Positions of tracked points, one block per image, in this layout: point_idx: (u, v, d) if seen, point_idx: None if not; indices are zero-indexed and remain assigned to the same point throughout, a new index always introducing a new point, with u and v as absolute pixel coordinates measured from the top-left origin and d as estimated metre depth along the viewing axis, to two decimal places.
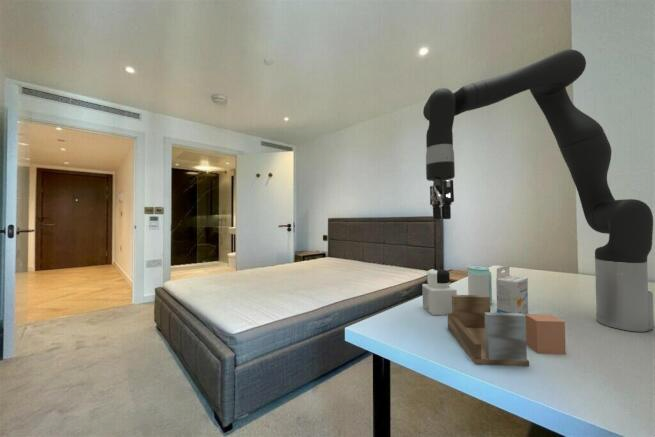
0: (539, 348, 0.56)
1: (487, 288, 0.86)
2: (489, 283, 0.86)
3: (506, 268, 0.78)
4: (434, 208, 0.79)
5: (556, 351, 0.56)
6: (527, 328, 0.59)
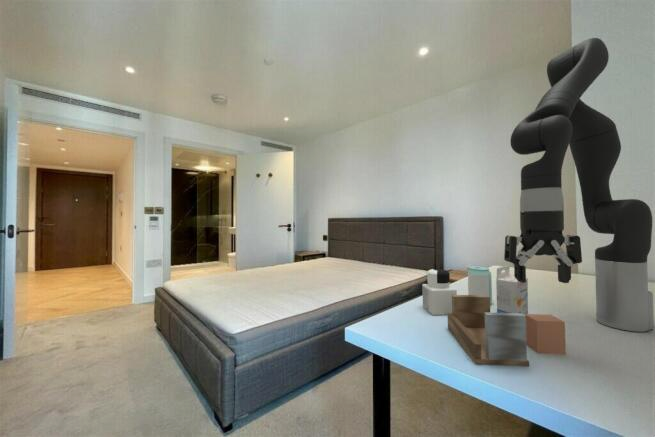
0: (539, 348, 0.56)
1: (487, 288, 0.86)
2: (489, 283, 0.86)
3: (506, 268, 0.78)
4: None
5: (556, 351, 0.56)
6: (527, 328, 0.59)
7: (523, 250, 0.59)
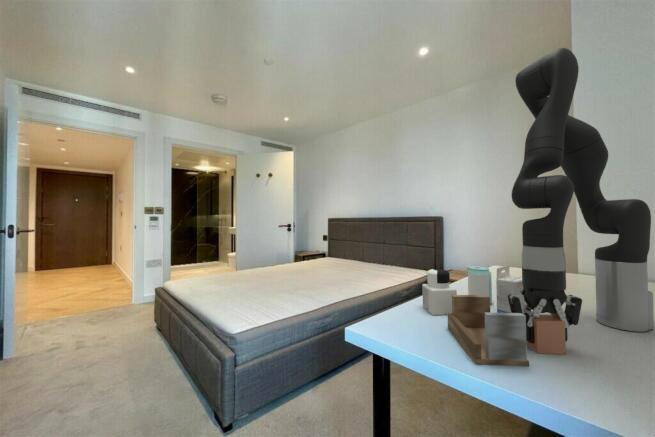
0: (539, 348, 0.56)
1: (487, 288, 0.86)
2: (489, 283, 0.86)
3: (506, 268, 0.78)
4: None
5: (556, 351, 0.55)
6: None
7: (528, 307, 0.59)
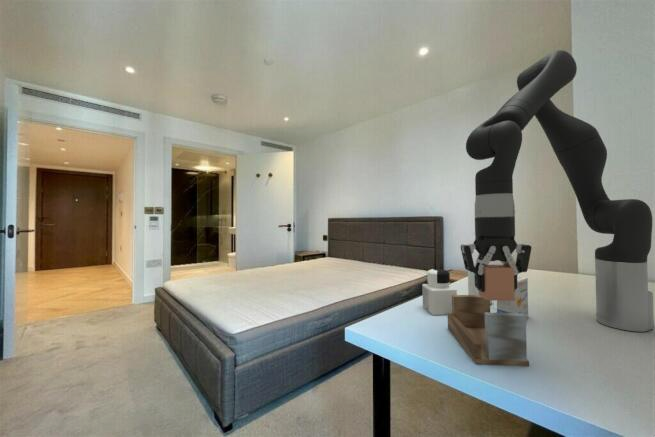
0: (488, 295, 0.56)
1: None
2: None
3: None
4: None
5: (505, 298, 0.56)
6: None
7: (480, 257, 0.59)
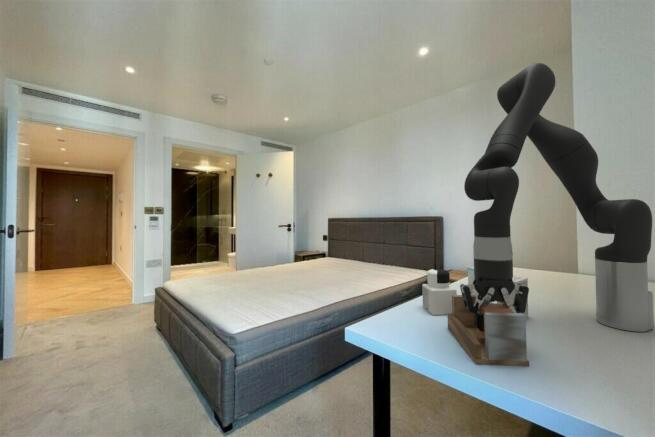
0: None
1: None
2: None
3: None
4: None
5: None
6: None
7: (479, 296, 0.61)
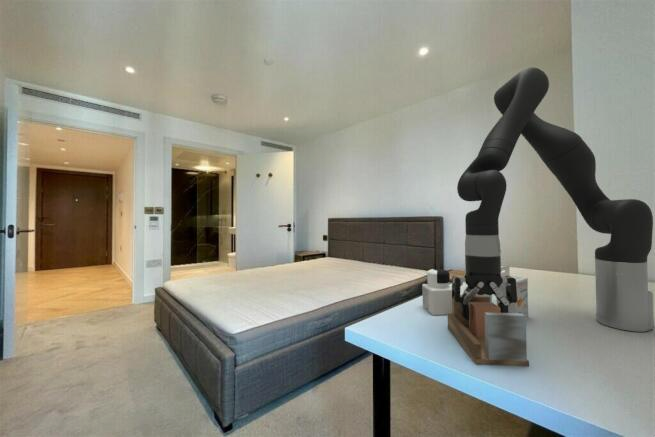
0: (478, 332, 0.62)
1: None
2: None
3: (506, 268, 0.78)
4: None
5: None
6: (470, 314, 0.65)
7: None
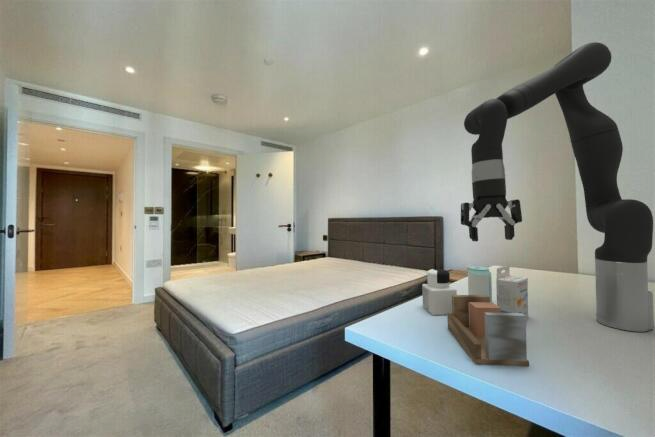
0: (478, 332, 0.62)
1: (487, 288, 0.86)
2: (489, 283, 0.86)
3: (506, 268, 0.78)
4: None
5: None
6: (470, 314, 0.65)
7: (476, 215, 0.70)
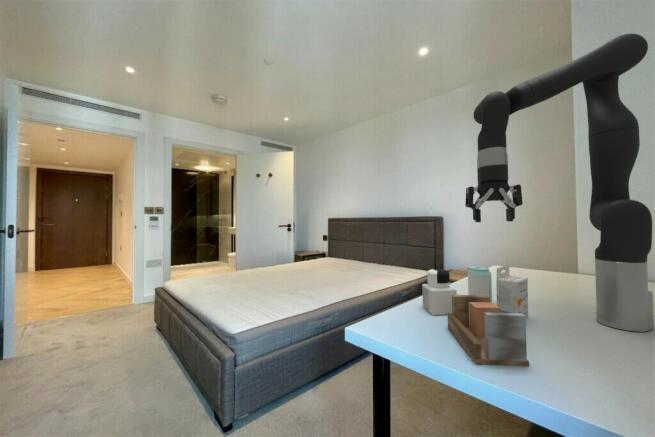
0: (478, 332, 0.62)
1: (487, 288, 0.86)
2: (489, 283, 0.86)
3: (506, 268, 0.78)
4: None
5: None
6: (470, 314, 0.65)
7: (479, 198, 0.76)
